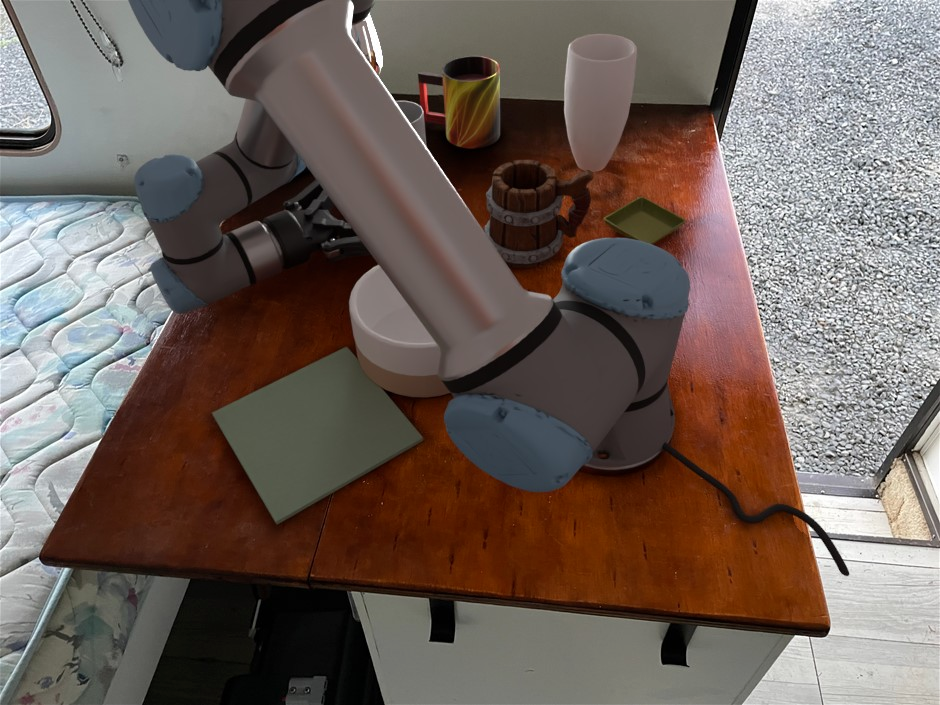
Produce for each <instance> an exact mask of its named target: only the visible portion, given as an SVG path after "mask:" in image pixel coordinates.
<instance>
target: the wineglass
mask: <svg viewBox="0 0 940 705" xmlns="http://www.w3.org/2000/svg"><path fill="white" fill-rule="evenodd" d="M350 33H351V37H352V39H353V40H354V42H355V43H356V45H357V46H358V48H359V49H360V51H361V52H362V53H363V55H364V56H365V58H366V59H367V61H368V62H369V64H370V65H371V67H372V68H373V70H374V71H375V73H376V74H377V75H378V77H379V76H380V73H381V72H382V68H383V55H382V49H381V44H380V41H379V38H378V35H377V32H376V29H375V26H374V23H373V20H372V17H371V15H370V14H369V15H368V16H367V17H366V19H364V20H363V21H362V22H360V23H358V24H355V25H352V28H351V31H350Z"/></svg>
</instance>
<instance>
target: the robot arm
mask: <svg viewBox="0 0 940 705" xmlns="http://www.w3.org/2000/svg"><path fill="white" fill-rule="evenodd" d="M127 1H128V3H129V5H130V8H131V10H132V12H133V14H134V17H135V19H136V20H137V22H138V25H139V26H140V27H141V29H142V32H144V35H145V36H146V37H147V39H148V41H149V42H150V43H151V45H152V46H153V47H154V48H155V50H156V51H157V52H158V53H159V55H161V56H162V58H164V59H165V60H166V61H167V62H169V63H170V64H173V65H174V66H175V68H178V69H180V70H183V71H188V72H192V71H194V72H201V71H205V70H207V68H209V69H210V71H211V72H212V73H213V75H214V76H215V77H216V78H217V80H218V81H219V83H220V84H221V85H222V87H223V88H224V89H225V91H226V92H227V94H229V95H230V96H232V97H236V98H240V99H243V100H245V101H244V104H243V107H242V110H241V114H240V117H239V121H238V125H237V128H236V132H235V135H234V137H233V140H232V141H231V142H230V143H228V144H226V145H225V146H223V147H221V148H219V149H217V150H216V151H215V150H214V152H212V153H210V154H208V155H206V156H204V157H202V158H200V159H198V160H197V161H195V160H194V159H192V158H191V157H190V156H186V155H184V154H183V155H182V154H165V155H164V156H163V157H154V158H152V159H151V160H148V161H147V162H145V163H143V164H142V165H141V166H140V167H139V168H138V169H137V171H135V174H134V177H133V185H134V190H135V192H136V196H137V199H138V202H139V204H140V207H141V212H142V213H143V215H144V217H145V219H146V220H147V223H148V225H149V226H150V229H151V230H152V233H153V235H154V238H155V240H156V241H157V243H158V246H159V248H160V251H161V256H162V257H160V258H159V259H157V260H155V261H153V262H152V263H151V264H150V267H149V269H150V272H151V276H152V277H153V280H154V282H155V284H156V286H157V288H158V290H159V292H160V293H161V296H162V298H163V299H164V301H165V303H166V304H167V306H168V307H169V308H170V311H172V312H173V313H175V314H178V315H183V314H186V313H190V312H192V311H194V310H195V311H196V310H198V309H201V308H203V307H209V306H211V304H213V303H215V302H217V301H219V300H222V299H225V298H226V297H228V296H230V295H232V294H234V293H237V292H239V291H241V290H243V289H245V288H247V287H251V286H253V285H256V284H257V283H259V282H262V281H265V280H267V279H269V278H271V277H274V276H277V275H278V274H281V273H282V271H283V269H284V270H291V269H293V268H296V267H298V266H301V265H303V264H305V263H307V262H309V260H310V259H311V256H312V255H313V253H314V252H320V251H322V252H323V253H324V256H325V260H326V263H335V262H337V261H340V260H343V259H348V258H356V257H364V256H372V258H373V259H374V260H375V262H376V263H377V265H379V266H380V267H381V268H382V270H383V271H384V272H385V274H386V275H387V277H388V278H389V279H390V281H391V282H392V283H393V285H394V286H395V287H396V289H397V290H398V292H399V293H400V294H401V296H402V297H403V298H404V300H405V301H406V302H407V304H408V305H409V307H410V308H411V309H412V311H413V312H414V313H415V315H416V316H417V317H418V319H419V320H420V322H421V323H422V324H423V326H424V327H425V328H426V330H427V331H428V332H429V334H430V335H431V337H432V338H433V339H434V341H435V342H436V343H437V345H438V346H439V348H440V352H441V354H440V361H439V367H438V376H439V378H440V379H441V380H442V382H443V383H444V385H445V386H446V387H447V389H448V390H449V392H450V393H449V394H450V395H452V399H451V400H450V401H448V403H447V406H446V408H445V411H444V413H443V422H444V424H445V430H446V433H447V435H448V437H449V438H450V440H451V441H452V443H453V444H454V445H455V447H456V449H458V450H459V451H460V452H461V453H462V454H463V456H465V457H466V459H468V460H469V461H470V462H471V463H472V464H473V465H475V466H476V467H478V469H480V470H481V471H483V473H486V474H487V475H489V476H490V477H492V478H494V479H496V480H497V481H499V482H502V483H504V484H506V485H508V486H510V487H513V488H516V489H519V490H523V491H526V492H531V493H532V492H533V493H549V492H550V493H551V492H553V491H556V490H560V489H561V488H562V487H564V486H566V484H568V483H569V482H570V481H571V479H572V478H573V477H574V476H575V475H576V473H578V471H581V472H584V473H587V474H590V475H595V476H601V477H602V476H604V477H620V476H621V477H622V476H627V475H632V474H636V473H638V472H641V471H643V470H645V469H647V468H650V466H652V465H654V464H655V463H657V461H658V460H659V459H661V458H662V457H663V455H664V454H665V453H668V454H669V455H670V456H672V457H673V458H674V459H676V460H677V461H678V462H680V463H681V464H682V465H684V467H686V468H687V469H689V470H690V471H691V472H692V473H694V474H696V475H697V476H698V477H700V478H701V479H703V480H704V481H706V482H707V483H708V484H710V485H711V486H713V487H714V488H716V489H717V491H719V492H720V493H722V495H724V497H726V499H727V500H728V501H729V503H730V506H731V508H732V511H733V513H734V514H735V516H736V517H737V518H738V519H739V520H740V521H742V522H744V523H747V524H754V525H755V524H759V523H761V522H762V523H763V522H764V521H765V520H767V519H768V518H769V517H771V516H773V515H774V514H777V513H779V512H782V513H783V512H784V513H787V514H789V515H792V516H794V517H796V518H798V519H800V520H801V521H803V523H805V524H807V525H808V526H809V527H810V529H812V530H813V531H814V532H815V534H816V535H817V537H819V539H820V540H821V542H822V543H823V544H824V547H825V548H826V549H827V551H828V553H829V554H830V556H831V558H832V560H833V562H834V563H835V565H836V567H837V569H838V571H839V573H840V574H841V575H843V576H845V577H850V571H849V568H848V567H847V564H846V562H845V561H844V559H843V557H842V556H841V554H840V552H839V550H838V549H837V547H836V545H835V544H834V542H833V540H832V539H831V537H830V536H829V535H828V533H827V532H826V530H824V528H823V527H822V526H821V525H820V523H818V522H817V521H816V520H815V519H814V518H813V517H811V516H810V515H809V514H807V513H806V512H805V511H803V510H801V509H799V508H797V507H794V506H792V505H788V504H786V503H775V504H773V505H770V506H768V507H767V508H765V509H764V510H762V511H761V512H759V513H757V514H755V515H750V514H746V513H745V512H744V511H743V509H742V508H741V505H740V502H739V500H738V498H737V497H736V495H735V494H734V493H733V491H732V490H730V489H729V488H728V487H727V486H726V485H725V484H724V483H722V482H721V481H720V480H719V479H717V478H716V477H714V476H713V475H711V474H710V473H709V472H707V471H705V470H704V469H703V468H702V467H700V466H699V465H697V464H695V463H694V462H693V460H690V459H689V458H688V457H686V456H685V455H684V454H682V453H681V452H680V451H678V450H677V449H676V448H675V447H673V446H672V445H670V444H671V441H672V438H673V434H674V430H675V424H676V416H675V408H674V405H673V400H672V398H671V392H670V387H669V378H670V376H671V371H672V370H671V369H672V366H673V363H674V358H675V354H676V351H677V347H678V343H679V339H680V334H681V331H682V327H683V323H684V319H685V316H686V313H687V312H688V309H689V307H690V300H689V296H690V290H691V280H690V275H689V273H688V271H687V270H686V269H685V268H684V267H683V265H682V263H681V262H680V261H679V259H678V258H677V257H675V256H674V255H673V254H671V253H670V252H668V251H666V250H665V249H664V248H661V247H659V246H657V245H654V244H649V243H646V242H643V241H639V240H634V239H629V238H626V237H602V238H595V239H591V240H588V241H586V242H583V243H581V244H579V245H577V246H576V247H575V248H573V249H572V250H571V251H570V252H569V253H568V255H567V257H566V258H565V261H564V265H563V267H562V270H561V271H560V272H561V273H560V274H561V280H562V284H561V288H560V290H559V292H558V293H557V294H556V296H555V297H554V298H552V297H551V296H550V295H549V294H545V293H539V292H534V291H528V290H527V289H525V288H523V286H522V285H521V283H520V282H519V280H518V279H517V278H516V276H515V275H514V273H513V272H512V270H511V268H510V267H509V266H507V264H506V263H505V261H504V260H503V258H502V257H501V256H500V254H499V253H498V251H497V250H496V248H495V247H494V245H493V244H492V242H491V241H490V239H489V238H488V236H487V235H486V234H485V232H484V229H483V228H482V226H481V225H480V224H479V221H478V220H477V219H476V217H475V215H474V214H473V213H472V212H471V210H470V209H469V207H468V205H467V204H466V203H465V201H464V200H463V199H462V197H461V195H460V194H459V193H458V191H457V189H456V188H455V187H454V186H453V184H452V183H451V180H450V179H449V178H448V176H447V175H446V173H445V172H444V171H443V169H442V168H441V166H440V165H439V164H438V162H437V160H436V159H435V157H434V156H433V154H432V153H431V151H430V149H428V146H427V147H426V146H425V144H424V143H423V141H422V140H421V138H420V137H419V135H418V134H417V133H416V131H415V130H414V128H413V127H412V125H411V124H410V122H409V121H408V119H407V118H406V116H405V115H404V114H403V112H402V111H401V109H400V108H399V106H398V105H397V103H396V102H395V101H396V100H395V99H394V97H393V96H392V94H391V93H390V91H389V90H388V89H387V87H386V85H385V84H384V83H383V81H382V80H381V79H380V77H379V76H378V75H377V74H376V73H375V71H374V70H373V68H372V67H371V65H370V64H369V62H368V61H367V59H366V58H365V56H364V55H363V53H362V52H361V51H360V49H359V48H358V46H357V45H356V43H355V42H354V40H353V39H352V37H351V33H350V31H351V28H352V25H355V24H358V23H360V22H362V21H363V20H364V19H366V17H367V16H368V15H370V14H371V12H372V10H373V8H374V5H375V4H376V1H377V0H127ZM306 166H307V167H308V169H309V170H310V171H309V172H310V173H311V174H312V176H313V178H315V180H313V181H312V182H311V183H309V185H307V187H305V188H304V189H303V190H301V191H300V192H299V193H298V194H296V195H295V196H294V197H292V198H290V199H288V200H286V201H284V202H283V203H282V207H283V209H284V210H282V211H278V212H276V213H273V214H271V215H268V216H266V217H264V218H263V220H262V222H260V221H259V220H255V221H253V222H250V223H248V224H245V225H242V226H241V227H238V228H235V229H233V230H231V231H229V232H226V233H223V232H222V229H221V226H220V224H221V223H223V222H224V221H226V220H228V219H229V218H231V217H233V216H234V215H236V214H237V213H239V212H241V211H242V210H244V209H246V208H247V207H248V206H250V205H252V204H254V203H255V202H257V201H258V200H260V199H262V198H264V197H265V196H267V195H268V194H270V193H272V192H273V191H275V190H277V189H278V188H280V187H282V186H284V185H287V184H288V183H290V182H291V181H292V180H293V179H294V178H295V177H296V176H298V175H300V174H301V173H303V172H302V171H303V170H304V169H305V167H306ZM334 206H335V207H336V208H337V210H338V211H339V212H340V214H341V215H342V216H343V218H344V219H345V221H344V220H343V219H337V218H336V217H335V216H333V215H331V213H330V211H331V210H332V209H333V207H334Z"/></svg>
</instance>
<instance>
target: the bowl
mask: <svg viewBox="0 0 940 705" xmlns="http://www.w3.org/2000/svg"><path fill="white" fill-rule="evenodd" d="M348 309H349V318H350V322H351V328H352V335H353V339H354V344H355V349H356V356H357V357H356V358H357V359H358V360H359V363H360V366H361V368H362V369H363V371H364V372H365V374H366V375H367V377H368V378H370V379H371V380H372V381H373V382H374V383H375V384H377V385H378V386H380V387H381V388H382V389H383V390H384V391H388V392H390V393H393V394H396V395H398V396H399V395H400V396H404V397H410V398H432V397H433V398H434V397H440V396H445V395H448V394H451V393H450V392H449V390H448V389H447V387H446V386H445V385H444V383H443V382H442V380H441V379H440V378H439V376H438V367H439V361H440V354H441V352H440V348H439V346H438V345H437V343H436V342H435V341H434V339H433V338H432V337H431V335H430V334H429V332H428V331H427V330H426V328H425V327H424V326H423V324H422V323H421V322H420V320H419V319H418V317H417V316H416V315H415V313H414V312H413V311H412V309H411V308H410V307H409V305H408V304H407V302H406V301H405V300H404V298H403V297H402V296H401V294H400V293H399V292H398V290H397V289H396V287H395V286H394V285H393V283H392V282H391V281H390V279H389V278H388V277H387V275H386V274H385V272H384V271H383V270H382V268H381V267H380V266H379V264H377V265H374V266H373V267H372V268H371V269H369V270H368V271H367V272H365V273H364V274H363V275H362V276H361V277H360V278H359V279H358V280H357V281H356V283H355V284H354V286H353V288H352V289H351V292H350V296H349V300H348Z"/></svg>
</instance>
